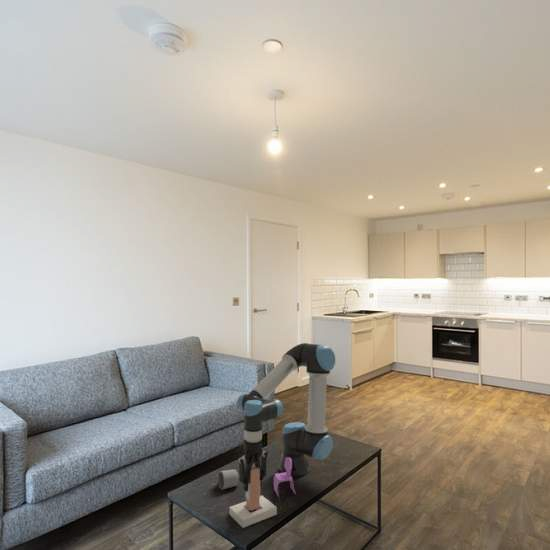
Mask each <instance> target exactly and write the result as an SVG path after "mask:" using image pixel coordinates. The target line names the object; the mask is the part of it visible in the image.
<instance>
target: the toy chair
mask: <svg viewBox="0 0 550 550" xmlns="http://www.w3.org/2000/svg"><path fill="white" fill-rule="evenodd" d="M284 467H285V469H286V472H284V473H281V472H280V473H279V472H277V473H274V476H273V490H274V492H275V494H276V496H277V498H280V496H279V492H278V486H279V484H280V483H283V482H289V486H290V487H289V488H290V489H291V491H292V492H293V493H294V494H295V495H297V493H296V490H295V487H294V480H293V476H290V475H291V470H292V460H291V458H289V457H287V458H285V464H284Z"/></svg>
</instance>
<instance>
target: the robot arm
mask: <svg viewBox="0 0 550 550" xmlns="http://www.w3.org/2000/svg"><path fill="white" fill-rule="evenodd" d="M335 364H336V355H335V353H334V351H333V349H332V348H331V347H330V346H328V345H324V344H317V343H316V344H315V343H307V342H304V343H299V344H297V345H295V346H293V347H292V348H290V349H289V350H287V351H286V352H285V353H284V354H283V355H282V357H281V360H280V361H279V362H278V363H277V364H276V365H275V366H274V367H273V368H272V369H271V370H270V371H269V373H267V374H266V375H265V376H264V377H263V379H262V380H260V381H259V383H257V385H256V386H255V387H253V389H252V390H250V391H249V392H248V393H242V394H240V395H239V396H238V398H237V400H236V406H237V408H238V410H240V411H242V412H243V419H244V420H243V427H244V429H243V431H244V432H243V433H244V435H243V440H244V441H243V450H244V452H243V455H242V456H241V457H237V462H238V466H239V467H238V474H239V483H242V484H243V491H244V493H245V497H244V498H245V499H246V498H247V499H248V500H250V483H249V478H250V470H251V467H252V465H255V466H256V467H258V468H260V488H262V486H263V485H262V483H263V480H264V478H265V477H266V476H267V458H268V456H269V455H268V454H269V452H267V451H265V450H263V423H265V422H267V421H271V420H274V419H277V418H278V417H281V416H282V415H283V413H284V405H283V403H282V401H281V400H279V399H276V398H274V399H271V400H269V399H268V398H269V397H270V396H271V395H272V393H273V392H274V391H275V390H276V389H277V388H278V387H279V386H280V385H281V384H282V383H283V382H284V380H286V379H287V378H288V376H289V375H290V374H291V373H292V372H293V371H294V372H295V371H297V370H298V369H299V368H300V367H306V373H307V375H308V376H309V377H308V400H307V401H308V403H307V404H308V406H307V424H305V423H304V422H301V421H300V422H299V421H294V422H289V423H285V424H284V425H283V427H282V433H281V434H282V455H281V457H280V462H279V468H278V469H279V470H278V471H279V472H280V473H284V472H286V469H285V467H284V464H285V458H287V457H289V458H291V460H292V470H291V475H290V476H291V477H302V476H304V475H305V476H306V475H307V474H308V473H309V472H310V465H309V462H308V459H307V456H308V457H310V458H313V459H314V460H315V459H316V460H321V461H322V460H325V459H326V458H327V457H328V456H329V455H330V454H331V451H332V449H333V444H334V443H333V438H332V436H330V435H329V429H328V427H327V426H326V410H327V408H326V407H327V406H326V405H327V404H326V402H327V379H328V378H327V377H328V376H329V375H330V374H331V371H332V370H333V369H334V367H335ZM260 496H261V495H260ZM260 496H259V497H260Z"/></svg>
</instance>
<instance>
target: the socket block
mask: <svg viewBox="0 0 550 550" xmlns="http://www.w3.org/2000/svg"><path fill="white" fill-rule="evenodd" d="M277 508H278V507H277V506H276V505H274V504H273V502H271V501H270V500H269V499H267V498H266V497H264V495H260V497H259V508H258V509H255V511H254V510H253V511H251V510H249V509H248V508H247V507H246V500H245V501H242V502H240V503H237V504H234V505H231V506H229V512H228V513H229V516H230V517H231V518H232V519H233V520H234V521H235V522H237V524H238V525H239V526H240V527H241V528H242V529H243V528H247V527H249V526H251V525H253V524H256V523H259V522H261V521H263V520H267V519H269V518H271V517H274V516H276V515H277V514H278V513H277V512H278V511H277V510H278V509H277ZM250 511H251V512H250Z"/></svg>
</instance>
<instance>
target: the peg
mask: <svg viewBox="0 0 550 550" xmlns="http://www.w3.org/2000/svg"><path fill="white" fill-rule="evenodd" d="M249 483H250V500H248V499H247V498H246V497H245V501H246V507H247V508H248V509H249V510H251V512H253V511H254V510H255V511H256V509H258V508H259V496H261V487H260V468H258V467H256V466H255V464H253V465H252V467H251V470H250V478H249Z"/></svg>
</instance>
